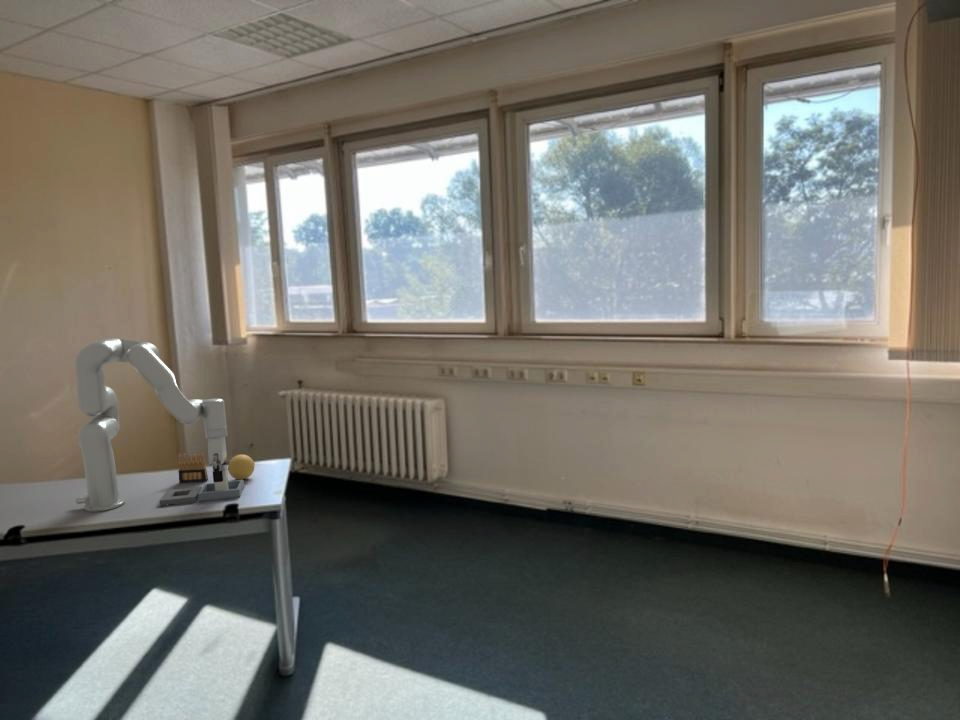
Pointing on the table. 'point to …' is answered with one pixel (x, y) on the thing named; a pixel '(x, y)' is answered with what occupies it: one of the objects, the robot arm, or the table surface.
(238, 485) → the parts tray
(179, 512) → the table surface
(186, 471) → the ammunition clip
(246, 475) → the stress ball
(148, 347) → the robot arm
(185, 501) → the frame
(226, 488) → the fuse
